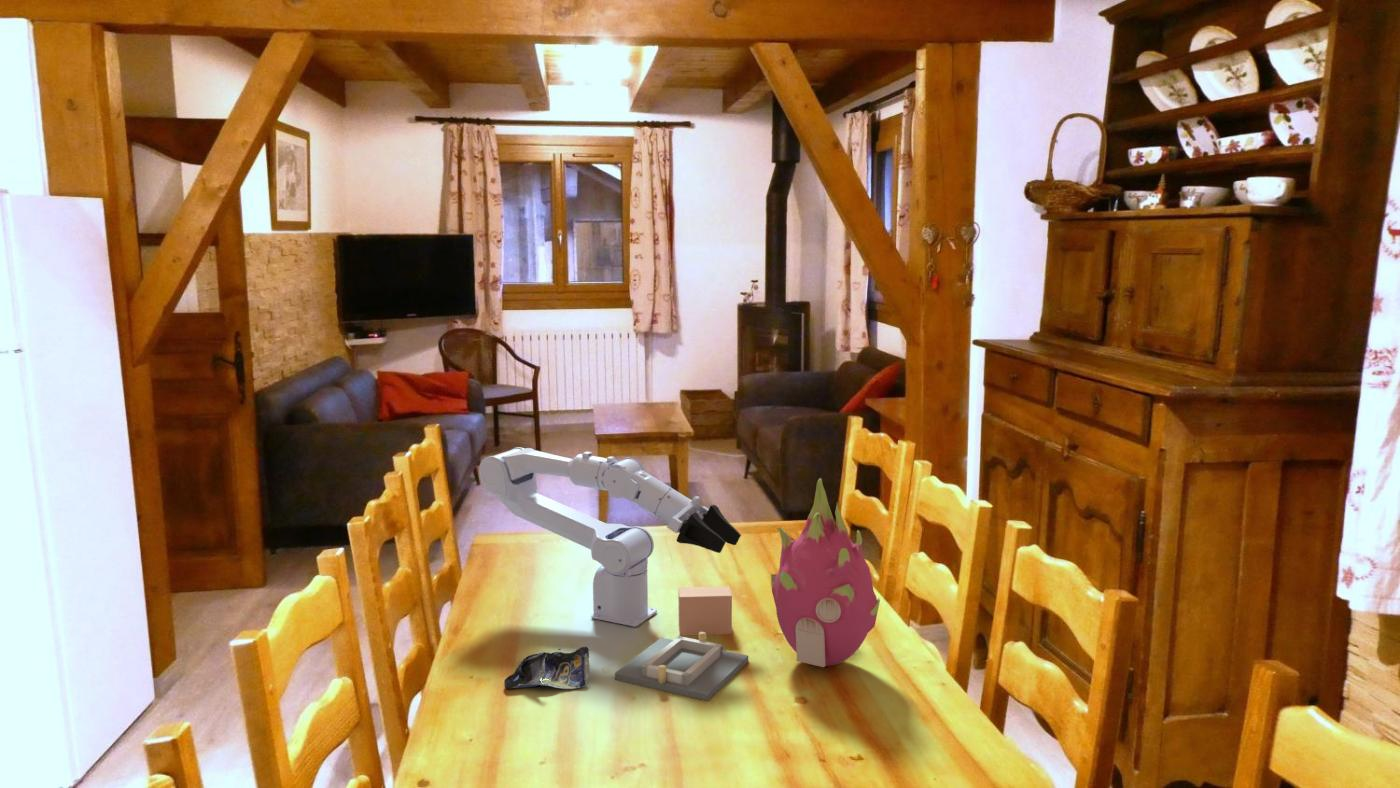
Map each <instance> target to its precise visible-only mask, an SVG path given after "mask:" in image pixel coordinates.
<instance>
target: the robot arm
mask: <svg viewBox="0 0 1400 788" xmlns="http://www.w3.org/2000/svg"><path fill="white" fill-rule="evenodd" d="M478 474H479V475H478V476H479V478H480V481H481V484H482V487H483V490H484V491H486V492H487V493H489V494H491V495H494V496H495V497H496V498H497V499H498V500H499V501H500V502H501V503H502V504H503V505H504V506H505V507H506V508H507V510H509V512H511V513H512V514H513V515H514V516H516V517H518V518H521V519H522V520H525V521H527V522H529V523H532V524H533V525H536V526H538V527H540V528H542V529H544V530H547V531H549V532H551V533H554V534H556V535H558V536H560V537H562V538H565V539H566V540H569V541H571V542H573V543H575V544H578V545H580V546H582V547H584V548H587V549H588V550H590V553H591V554H590V556H591V558H592V560H593V561H596V562H598V563H599V564H600V565H601V566H599V567H598V568H597V570H596V571H595V573H594V577H593V582H592V600H593V605H592V606H593V607H592V608H593V614H591V616H590V617H591V618H592V619H595V620H601V621H604V622H610V623H615V624H619V625H624V626H630V627H638V626H639V625H641V624H643V623H644V622H645V621H646V620H648V619H650V617H652V616H654V615H655V614H656V613H657V612H658V609H657V608H652V607H649V605H648V604H649V602H648V601H649V599H648V597H649V595H648V593H649V591H648V589H649V588H648V586H649V585H648V564H649V563H648V561H649V559H648V558H649V557H651V555H652V553H653V551H654V549H655V546H654V545H655V544H654V539H653V536H652V535H651V533H650V532H649V531H648V530H647V529H646V528H644V527H642V526H628V525H625V524H622V523H607V522H604V521H601V520H600V519H597V518H595V517H592V516H590V515H588V514H586V513H584V512H581V511H579V510H577V509H575V508H572V507H570V506H567V505H565V504H563V503H561V502H559V501H557V500H554V499H551V498H550V497H547V496H545V495H543V494H540V493H538V491H537V490H538V485H537V484H538V483H537V475H536V474H540V475H549V476H550V475H551V476H557V477H565V478H569V479H570V481H571V483H572V484H573V485H574V486H579V487H583V488H590V489H595V490H600V491H607V492H608V496H609V497H611V498H615V499H619V498H624V499H626V500H628V501H630V502H632V503H633V504H634V505H636V506H638V507H639V508H641V509H643V510H644V511H646V512H647V513H649V514H651V516H654V517H655V518H657V519H658V520H660V521H662V522H663V523H664V524H667V526H666V528H667V529H669V530H671V531H672V532H674V533H676V534H678V535H677V537H676V542H677V543H678V544H687V545H693V546H697V547H701V548H704V549H706V550H709V551H712V552H715V553H718V554H720V553H722V552H723V551H722V550H723V548H724V546H725V545H726V543H727V544H730V545H732V546H736V545H737V544H738V542H739V540H740V538H741V537H742V535H741V533H740V532H739V531H738V530H737V529H736V528H735V527H734V526H733V525H732V524H731V523H730V521H728V520H727V519H726V518H725V516H724V515H723V513H722V512H721V510H720V508H719V507H718V506H717V504H712V505H710V506H709V508H708V507H706V506H705V505H702V504H700V500H701V497H700V496H698V495H696V496H693V498H692V499H690V498H689V497H688V496H686V495H684V494H682V493H680V492H679V491H677V490H676V489H674V488H673V487H671V486H669V485H667V484H666V483H665V482H663V481H661V480H659V479H658V478H656V477H655V476H652V475H651V474H650V473H648V472H646V471H645V467H644V466H643V465H642V464H641V462H640V461H639V460H637V459H635V458H632V457H631V456H627V457H624V458H621V459H620V460H619V461H618V460H617V459H616V457H615V456H612V455H611V456H608V457H602V456H595V455H593V451H584V452H582V453H579V454H577V455H576V456H575V457H573V458H569V457H566V456H561V455H556V454H552V453H549V452H544V451H540V450H536V449H534V448H532V447H526V448H524V447H519V446H517V447H513V448H511V449H510V450H506V451H504V452H501V453H498V454H495V455H490V456H486V457H484V458H483V459H482V461H481V462H480V463H479V467H478Z"/></svg>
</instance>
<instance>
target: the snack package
mask: <svg viewBox="0 0 1400 788" xmlns="http://www.w3.org/2000/svg"><path fill="white" fill-rule="evenodd" d="M561 650H562V648H559V649H558V651H555V652H546V651H543V652H539V653H533V654H530V655H528V656H526V657H524V659H523V660H522V661H521V662H520V663H519V665H518V666H517V667H516V668H515V671H514V672H513V673H512V674H510V675H508V677H506V678H505V679H504V685H503V686H504V689H506V690H512V689H515V688H518V689H520V688H532V687H538V686H546V687H551V688H552V687H553V688H556V689H563V690H569V688H572V690H573V689H580V688H585V687H586V686H587V684H588V682H589V676H590V649H589V647H588V646H581V647H580V648H578V649H576V650H574V651H571V652H562V651H561ZM541 678H542V680H543V679H545V678H546V679H549V680H551V681H550V682H547V683H546V682H543V683H544V684H542V683H541V681H540V679H541ZM552 682H556V683H560V684H562V685H566V686H568V687H569V688H568V687H564V686H559V685H556V684H554V683H552Z"/></svg>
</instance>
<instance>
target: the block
mask: <svg viewBox="0 0 1400 788" xmlns="http://www.w3.org/2000/svg"><path fill="white" fill-rule="evenodd" d="M677 588H678V590H677V591H678V595H677V596H678V631H679V636H699V632H705V633H706V636H708V635H709V636H710V635H732V633H733V631H732V628H733V625H732V624H733V623H732V620H733V616H732V615H733V609H732V608H733V607H732V605H733V601H732V600H733V598H732V597H733V595H732V592H731V587H730V586H729V585H727V586H696V587H695V586H690V587H689V586H688V587H687V586H685V587H677Z"/></svg>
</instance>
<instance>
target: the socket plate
mask: <svg viewBox="0 0 1400 788" xmlns="http://www.w3.org/2000/svg"><path fill="white" fill-rule="evenodd" d="M723 648H724V646H723V644H719V643H715V642H711V641H710V642H709V641H707V635H706V633H705V632H699V635H698V639H695V638H690V637H685V636H682V635H678V636H677V637H675V639H669V638H667V637H660V638H659V639H657V640H656V641H655V642H653V643H652V644H651V645H650V646H648V647H647V648H646V649H644V650H643V651H641V653H640V654H638V655H636V657H634V658H633V659H631V661H629V662H628V663H626V664H624V666H622V667H621V668H620V669H619V670H617V671H616V672H615V673H614V680H617V681H621V682H625V683H630V684H632V685H633V684H634V685H637V686H642V687H646V688H649V689H650V688H651V689H655V690H658V691H659V690H660V691H664V692H667V693H672V694H676V695H680V696H685V697H690V698H694V699H697V700H702V701H706V702H708V701H709V700H710V699H711V698H712V697H714V696H715V695H716V693H717V692H719V691H720V690H721V689H722V688H723V686H724V685H726V684H727V683H728V682H729V681H730V680H731V679H732V678H733V677H734V676H735V675H736V674H737V673H738V672H739V671H740V670H741V669H742V668H743V667H744V666H745V665H746V664H747V663H748V662H749V655H748V654H742V653H737V652H732V651H730V650H724V649H723Z"/></svg>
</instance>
